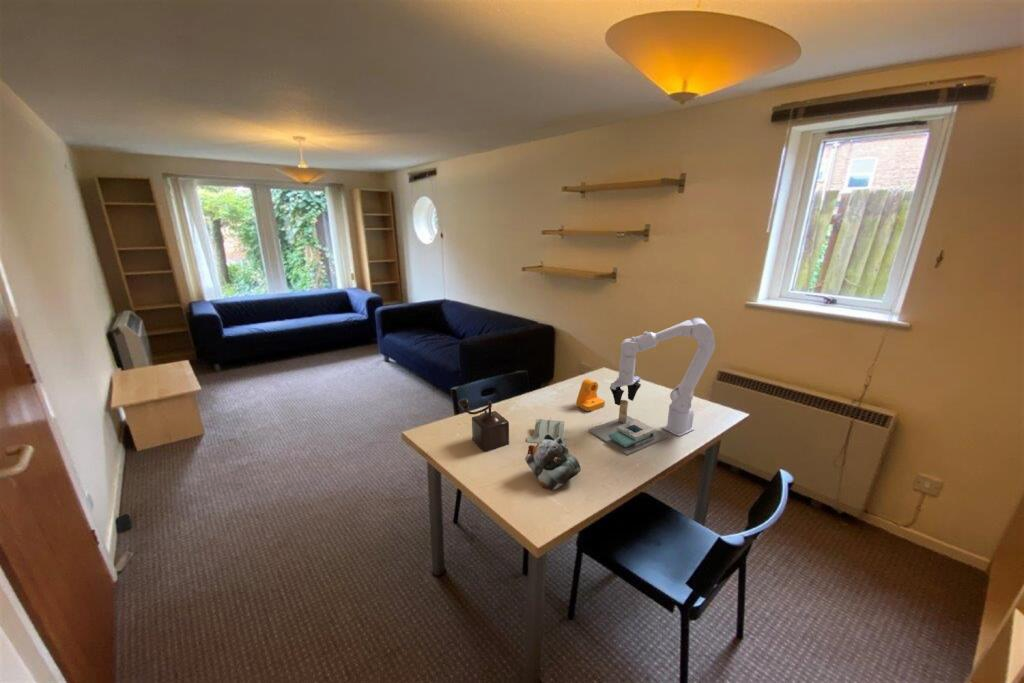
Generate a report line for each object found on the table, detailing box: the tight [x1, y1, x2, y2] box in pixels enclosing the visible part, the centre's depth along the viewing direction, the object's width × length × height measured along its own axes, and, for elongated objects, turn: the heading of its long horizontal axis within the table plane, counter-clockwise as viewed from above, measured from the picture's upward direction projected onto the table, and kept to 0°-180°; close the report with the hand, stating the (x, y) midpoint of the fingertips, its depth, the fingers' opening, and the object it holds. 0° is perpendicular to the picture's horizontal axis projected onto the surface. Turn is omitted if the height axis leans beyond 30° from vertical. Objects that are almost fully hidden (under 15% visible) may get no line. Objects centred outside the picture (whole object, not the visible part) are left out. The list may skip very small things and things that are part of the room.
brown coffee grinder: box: [458, 397, 510, 453], centre depth 143 cm, size 16×11×18 cm
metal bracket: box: [526, 416, 569, 447], centre depth 150 cm, size 14×6×15 cm
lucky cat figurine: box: [524, 434, 582, 491], centre depth 125 cm, size 15×12×14 cm
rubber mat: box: [587, 415, 669, 456], centre depth 151 cm, size 22×20×1 cm
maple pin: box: [618, 399, 629, 424], centre depth 158 cm, size 3×3×9 cm
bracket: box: [575, 378, 606, 412], centre depth 172 cm, size 11×7×12 cm, turn 124°
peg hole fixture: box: [609, 419, 656, 447], centre depth 146 cm, size 15×9×4 cm, turn 123°
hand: (624, 402), depth 157 cm, fingers open, 7 cm apart
